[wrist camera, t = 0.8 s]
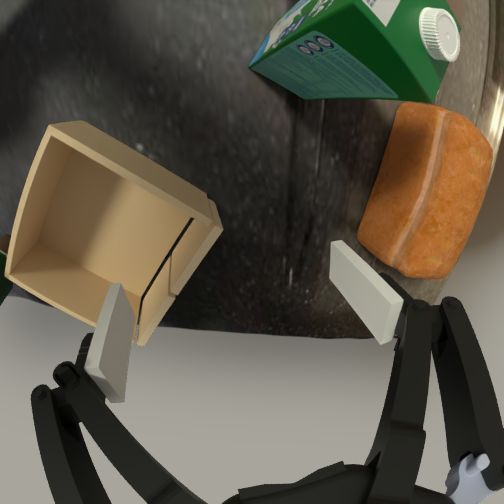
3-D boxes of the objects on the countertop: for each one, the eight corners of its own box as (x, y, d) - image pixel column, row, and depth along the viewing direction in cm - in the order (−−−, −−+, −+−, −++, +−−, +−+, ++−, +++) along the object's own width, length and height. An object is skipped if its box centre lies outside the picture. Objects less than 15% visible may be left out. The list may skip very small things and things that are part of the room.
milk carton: (305, 100, 33) (457, 108, 12) (247, 67, 30) (354, 1, 8) (333, 52, 30) (483, 27, 9) (279, 18, 27) (399, -65, 5)
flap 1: (142, 300, 42) (136, 344, 33) (170, 255, 39) (167, 295, 31) (149, 304, 42) (145, 347, 34) (177, 259, 40) (176, 299, 31)
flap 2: (172, 252, 39) (170, 291, 31) (208, 198, 37) (215, 225, 28) (179, 256, 40) (179, 296, 31) (216, 202, 37) (225, 231, 29)
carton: (33, 241, 33) (4, 276, 25) (82, 120, 28) (49, 124, 19) (139, 299, 42) (132, 344, 33) (206, 193, 37) (212, 220, 28)
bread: (443, 128, 39) (510, 147, 25) (400, 251, 50) (453, 296, 36) (395, 94, 35) (473, 102, 21) (347, 240, 45) (404, 294, 32)
